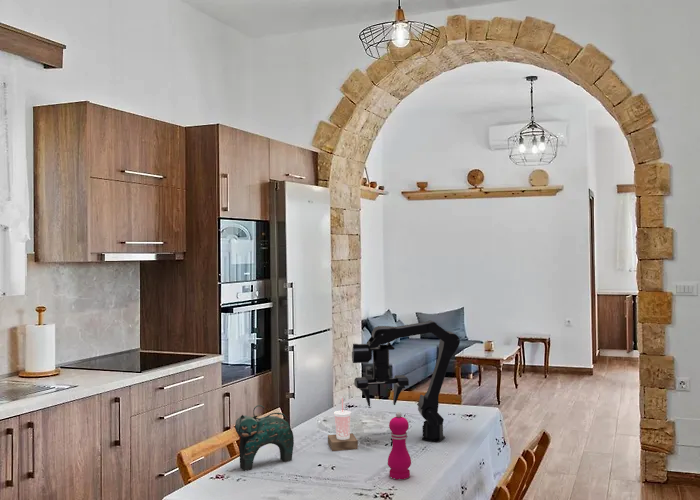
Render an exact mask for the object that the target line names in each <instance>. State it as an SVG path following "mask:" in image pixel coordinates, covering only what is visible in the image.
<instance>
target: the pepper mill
mask: <svg viewBox="0 0 700 500" xmlns="http://www.w3.org/2000/svg"><path fill="white" fill-rule="evenodd" d="M402 415H403V414H402V413H401V412H400V411H397V412H396V413H395V417H392V418H391V419H390V420H389V422H388V423H389V424H388V428H389V430H390V431H391V432H390V438H391V440H392V447H391V449H390V453H389V455H388V458H387V465H388V467H389V468H390V469H389V470H388V471H389V477H390V478H391V477H392V478H391V479H393V478H395V479H394V480H398V479H402V480H406V478H407V479H408V478H410V476H411V474H410V473H411V470H410V469H409V468H410V467H411V465H412V458H411V456H410V454H409V451H408V449H407V442H406V441H407V440H406V439H408V432H407V431H408V430H409V428H410V427H409V425H410V424H409V421H408V419H407V418H405V417H403V416H402Z"/></svg>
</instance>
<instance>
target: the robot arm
mask: <svg viewBox="0 0 700 500" xmlns="http://www.w3.org/2000/svg"><path fill="white" fill-rule="evenodd" d="M430 333H431V334H432V335H433V336H435V337H436V338H438V340H439V344H438V356H437V359H436V363H435V366H434V369H433V371H432V375H431V378H430V381H429V384H428V388H427V391H426V392H425V394H424V395H423V394H420V395H419V400H418V402H417V404H416V405H417V411H418V412H419V414H420V415H421V417H422V418H423V419H424V420H425V421H423V425H422V437H421V440H422V441H429V442H434V443H439V442H440V441H442V440H444V439H445V438H446V436H445V435H444V418H443V416H441V414H440V413H439V412H438V411H439V397H440V393H441V389H442V387H443V383H444V380H445V378H446V377H445V376H446V374H447V370H448V368H449V364H450V361H451V359H452V357H454V356H455V353H456V352H457V349H458V348H459V346H460V343H461V339H460V337H459V336H458V335H457V334H455V333H454V332H452V331H450V330H446V329H444V328H442V327H441V326H440V325H439V324H437V322H435V321H434V320H428V321H423V322H417V323H411V324H405V325H399V326H389V325H377V326H375V327H374V328H373V329H372V331H371V336H370V338H369V339H368V340H367V342H366V343H353V344H352V349H351V359H352V360H351V361H352V364H364V363H365V364H368V363H369V362H371V361H372V366H370V365H369V366H368V365H367V366H365V376H363V377H360V376H359V377H358V376H357V377H355V378H354V383H353V384H354V386H355V387H356V388H357V389H359V390H360V391H362V392H363V396H364V397H365V401H366V402H367V403H366V404H367V406H368V407H371V397H370V388H368V387H369V386H375V385H393V399H392V400H393V401H392V402H393V404H392V405H394V406H396V404H397V402H398V399H399V397H400V394H401V392H402V390H403V389H405V388H406V387H408V386H410V385H409V383H410V381H409V378H408V377H407V376H406V375H405V374H399V375H394V377H392V378H390V351H391V350H392V351H393V350H395V347H394V346H393V344H391V343H392V342H394V341H396V340H398V339H401V338H407V337H412V336H413V337H414V336H418V335H424V334H430ZM368 376H370V378H371V379H368V378H367V377H368Z"/></svg>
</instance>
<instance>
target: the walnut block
mask: <svg viewBox="0 0 700 500" xmlns="http://www.w3.org/2000/svg"><path fill="white" fill-rule="evenodd" d="M358 442H359V440H358V439H357V438H356V435H354V433H352V432H350V438H349V439H346V440H340V439H337V437H336V434H328V435H327V445H328V446H329V448H330V449H331V452H338V451H350V450H358V449H359V448H358V447H359V446H358V444H359V443H358Z"/></svg>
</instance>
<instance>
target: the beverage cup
mask: <svg viewBox="0 0 700 500" xmlns="http://www.w3.org/2000/svg"><path fill="white" fill-rule="evenodd" d="M333 415H334V422H335V423H334V424H335V435H336V437H337V439H340V440H346V439H349V438H350V433H351V416H352V411H350V410H346V409H344V397H342V398H341V410H340V409H339V410H335V411H334V412H333Z"/></svg>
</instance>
